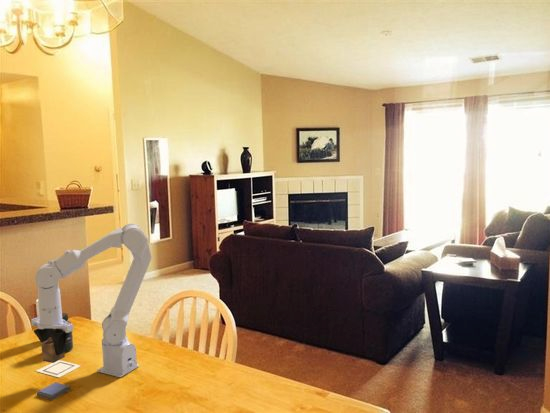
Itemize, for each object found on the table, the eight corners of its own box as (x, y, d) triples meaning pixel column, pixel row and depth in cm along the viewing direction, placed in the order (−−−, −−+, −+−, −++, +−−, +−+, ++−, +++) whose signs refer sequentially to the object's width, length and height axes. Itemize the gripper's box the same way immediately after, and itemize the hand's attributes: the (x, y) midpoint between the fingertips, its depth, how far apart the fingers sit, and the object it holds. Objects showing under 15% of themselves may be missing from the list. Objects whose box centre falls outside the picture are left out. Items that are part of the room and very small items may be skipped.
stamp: (64, 356, 134) (62, 336, 133) (53, 363, 130) (51, 341, 129) (54, 355, 135) (52, 334, 135) (42, 360, 132) (40, 339, 131)
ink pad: (70, 389, 128) (70, 385, 128) (52, 400, 123) (51, 396, 123) (55, 385, 131) (55, 381, 131) (36, 395, 125) (36, 391, 125)
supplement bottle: (67, 354, 151) (64, 319, 149) (47, 354, 151) (44, 319, 150) (77, 345, 158) (74, 311, 156) (57, 345, 158) (54, 311, 156)
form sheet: (81, 366, 142) (81, 365, 142) (59, 377, 135) (59, 377, 135) (58, 360, 147) (58, 359, 147) (35, 371, 140) (35, 370, 140)
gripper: (20, 308, 131) (24, 354, 132) (56, 314, 125) (60, 362, 126) (41, 300, 137) (45, 344, 139) (77, 306, 131) (81, 352, 133)
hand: (54, 352), depth 133 cm, fingers closed on stamp, 4 cm apart
